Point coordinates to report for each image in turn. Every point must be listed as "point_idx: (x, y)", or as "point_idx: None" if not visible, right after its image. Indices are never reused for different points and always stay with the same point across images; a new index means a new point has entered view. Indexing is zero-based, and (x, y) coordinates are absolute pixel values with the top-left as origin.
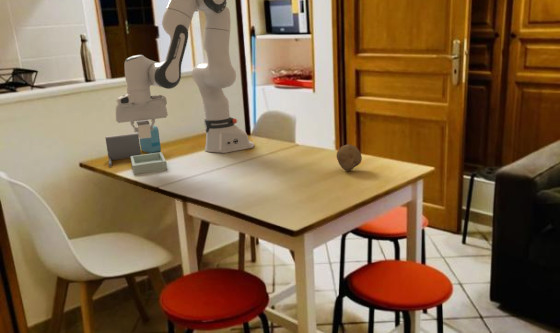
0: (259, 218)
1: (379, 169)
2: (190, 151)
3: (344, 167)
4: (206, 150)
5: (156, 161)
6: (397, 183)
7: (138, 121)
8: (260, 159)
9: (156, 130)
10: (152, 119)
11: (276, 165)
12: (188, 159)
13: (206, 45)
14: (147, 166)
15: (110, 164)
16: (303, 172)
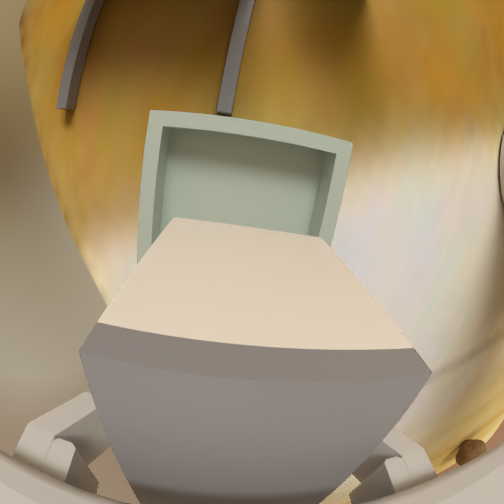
0: None
1: (476, 439)
2: (468, 100)
3: (458, 453)
4: (501, 165)
5: (288, 203)
6: (439, 471)
7: (156, 473)
8: (491, 354)
9: None
10: None
11: (464, 403)
12: (422, 229)
13: None
14: None
15: (64, 108)
16: (444, 440)
